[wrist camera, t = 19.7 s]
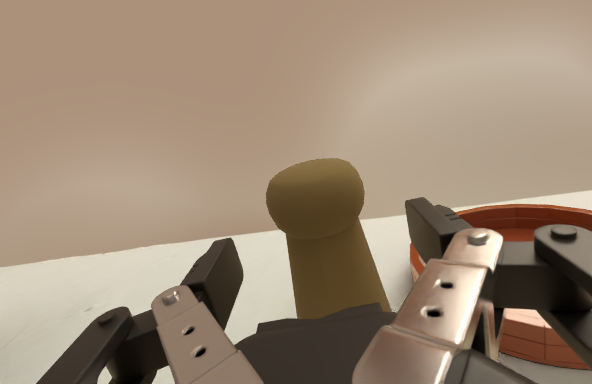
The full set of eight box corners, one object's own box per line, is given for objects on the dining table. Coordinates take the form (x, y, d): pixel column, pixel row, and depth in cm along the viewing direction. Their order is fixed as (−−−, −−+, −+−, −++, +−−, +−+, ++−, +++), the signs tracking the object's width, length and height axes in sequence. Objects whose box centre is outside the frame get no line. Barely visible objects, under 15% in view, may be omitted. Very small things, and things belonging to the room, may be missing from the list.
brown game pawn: (323, 295, 23) (287, 155, 20) (406, 306, 20) (379, 142, 16) (283, 360, 18) (226, 189, 15) (384, 389, 15) (339, 178, 12)
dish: (470, 390, 14) (466, 353, 13) (392, 247, 27) (389, 225, 26) (819, 343, 12) (834, 298, 11) (556, 215, 25) (556, 191, 24)
